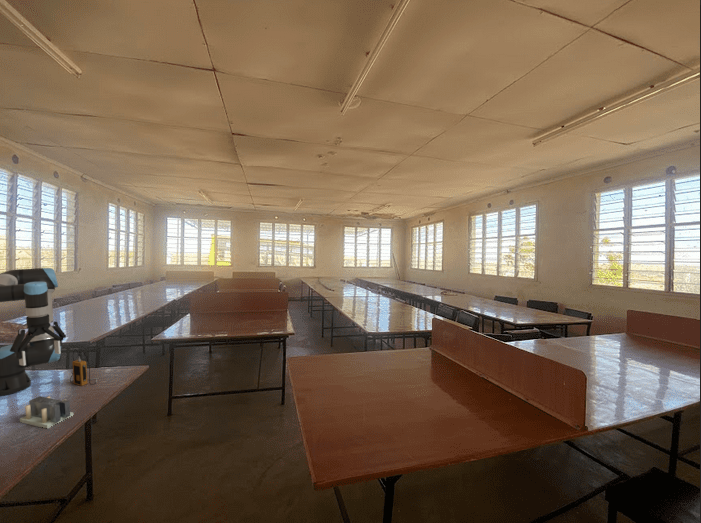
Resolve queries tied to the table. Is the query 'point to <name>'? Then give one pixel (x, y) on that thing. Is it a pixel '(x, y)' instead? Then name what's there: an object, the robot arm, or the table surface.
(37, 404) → the long grey bar
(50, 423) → the peg rack
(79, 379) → the multimeter
